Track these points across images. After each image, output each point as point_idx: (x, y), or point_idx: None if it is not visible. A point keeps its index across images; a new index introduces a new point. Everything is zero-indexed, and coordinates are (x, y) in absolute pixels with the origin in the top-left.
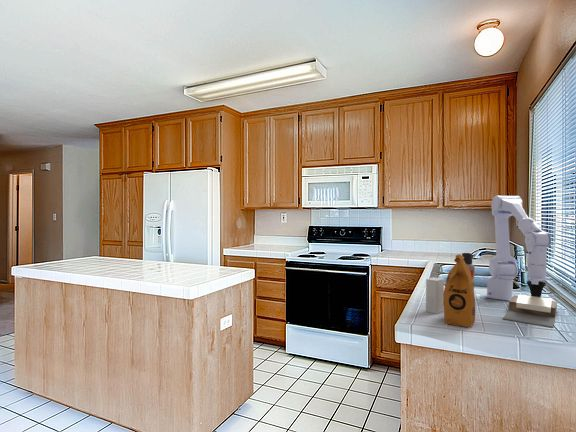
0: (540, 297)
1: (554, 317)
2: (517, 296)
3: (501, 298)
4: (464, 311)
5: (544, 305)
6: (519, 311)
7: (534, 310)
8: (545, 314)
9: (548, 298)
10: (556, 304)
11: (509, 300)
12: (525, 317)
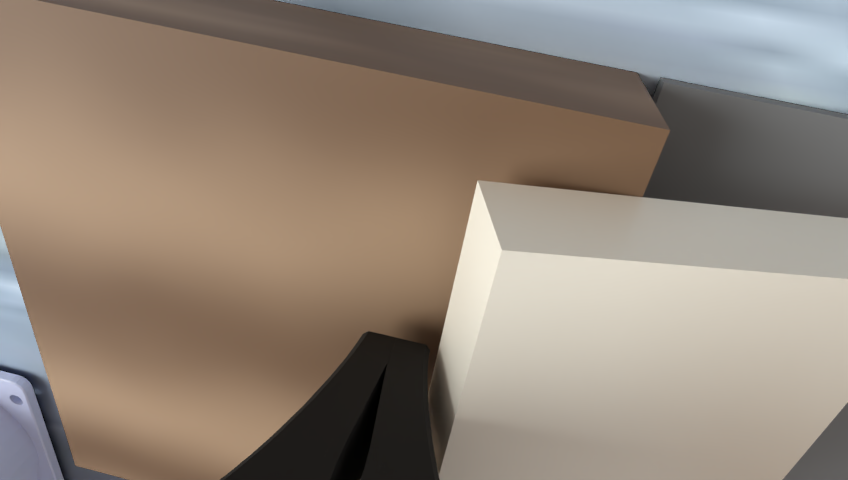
0: (462, 413)
1: (689, 94)
2: (95, 444)
3: (35, 448)
4: None
5: (831, 363)
6: None
7: None
8: None
9: (488, 302)
10: (104, 3)
11: (31, 396)
12: (832, 425)
